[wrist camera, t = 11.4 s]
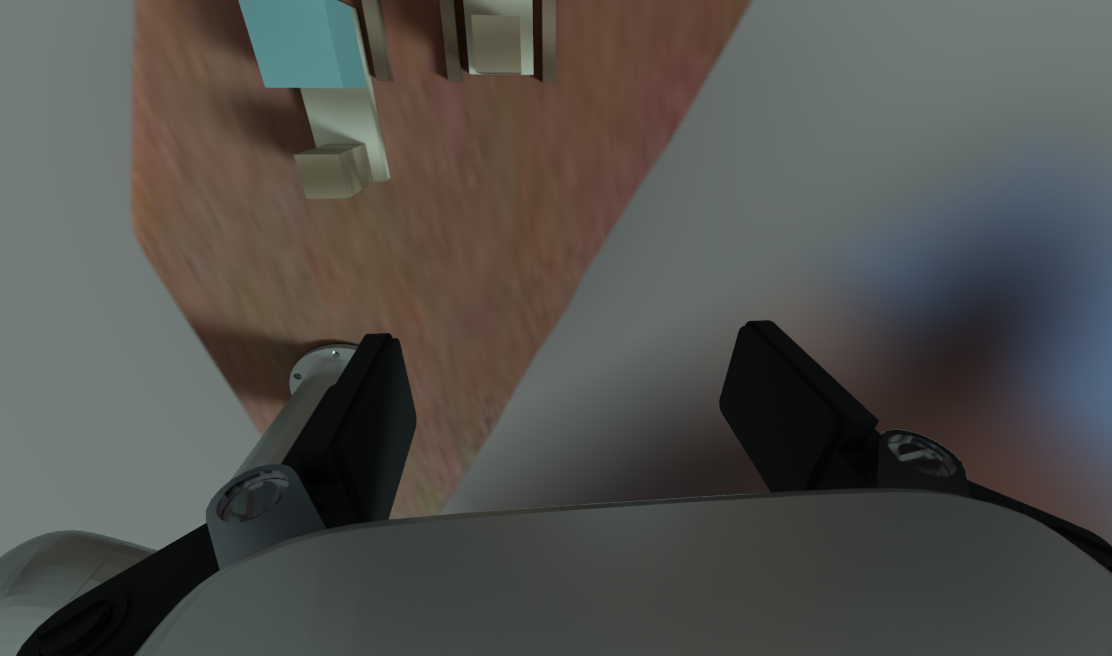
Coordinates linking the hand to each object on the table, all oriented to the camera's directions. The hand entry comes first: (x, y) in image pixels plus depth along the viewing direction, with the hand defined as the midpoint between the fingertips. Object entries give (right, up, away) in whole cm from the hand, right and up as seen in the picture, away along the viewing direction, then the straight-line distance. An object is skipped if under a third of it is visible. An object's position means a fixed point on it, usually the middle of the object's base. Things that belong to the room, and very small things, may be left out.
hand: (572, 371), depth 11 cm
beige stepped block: (-18, +20, +22) cm, 34 cm away
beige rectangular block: (-5, +24, +21) cm, 32 cm away
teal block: (-18, +22, +19) cm, 34 cm away
